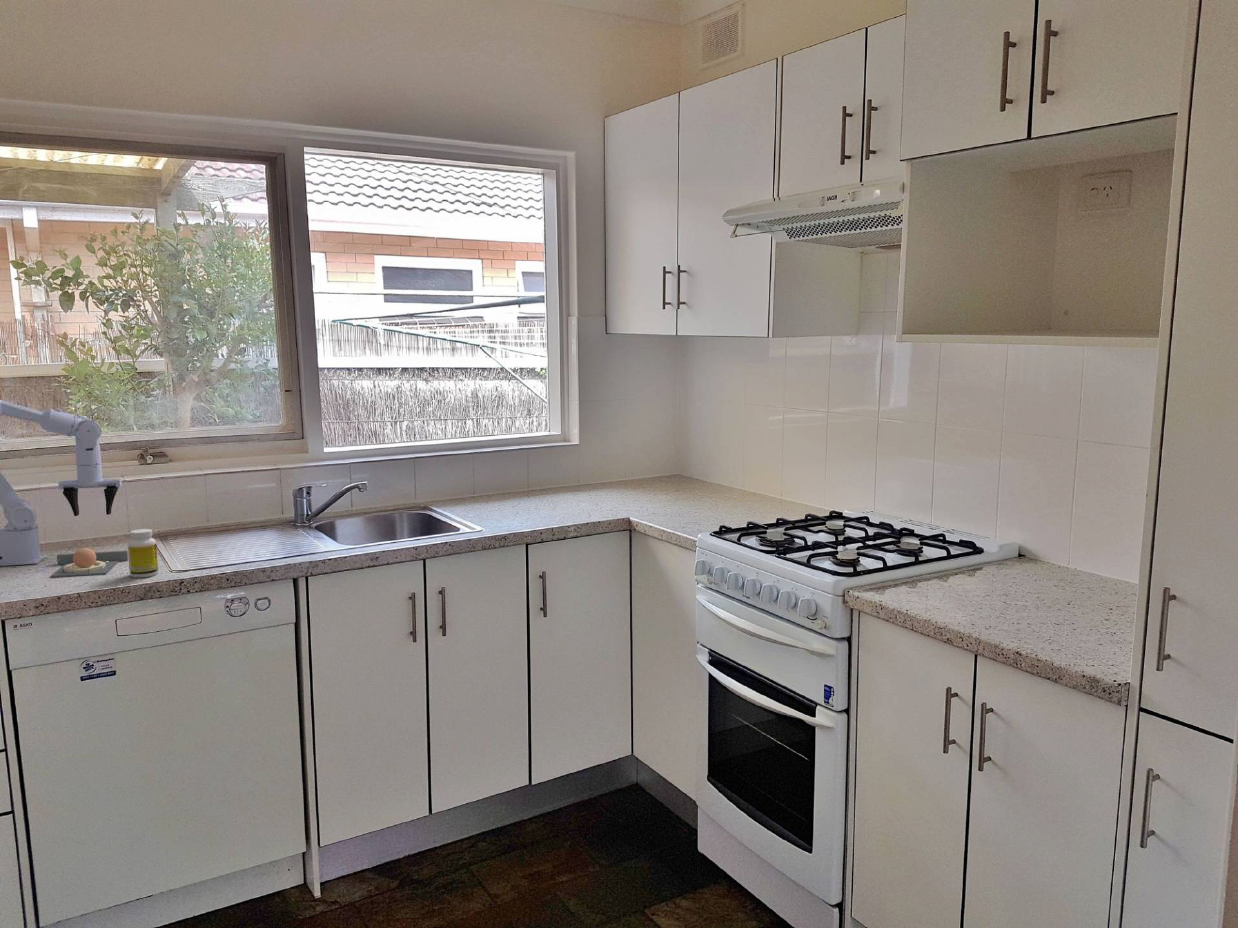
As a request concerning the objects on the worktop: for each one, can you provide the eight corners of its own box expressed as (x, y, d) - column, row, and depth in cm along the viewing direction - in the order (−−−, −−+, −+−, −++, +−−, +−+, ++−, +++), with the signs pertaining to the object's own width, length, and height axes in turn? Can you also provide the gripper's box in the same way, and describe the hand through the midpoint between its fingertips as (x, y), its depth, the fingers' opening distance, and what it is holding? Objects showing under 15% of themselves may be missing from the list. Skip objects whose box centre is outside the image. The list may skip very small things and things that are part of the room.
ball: (69, 570, 225) (69, 550, 224) (78, 565, 230) (77, 545, 229) (91, 570, 226) (91, 550, 225) (99, 565, 230) (99, 545, 230)
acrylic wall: (57, 564, 233) (56, 555, 232) (58, 563, 233) (58, 554, 233) (127, 560, 237) (126, 551, 237) (128, 559, 238) (127, 550, 238)
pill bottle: (162, 574, 224) (159, 530, 222) (135, 579, 219) (132, 534, 218) (152, 570, 228) (149, 526, 226) (125, 575, 223) (122, 530, 222)
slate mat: (50, 577, 220) (50, 572, 220) (64, 565, 232) (64, 560, 231) (106, 574, 224) (105, 569, 224) (117, 562, 235) (117, 557, 235)
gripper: (122, 461, 248) (126, 510, 249) (62, 463, 243) (66, 513, 245) (116, 464, 241) (120, 515, 243) (54, 466, 237) (58, 518, 239)
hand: (92, 514), depth 244 cm, fingers open, 7 cm apart
